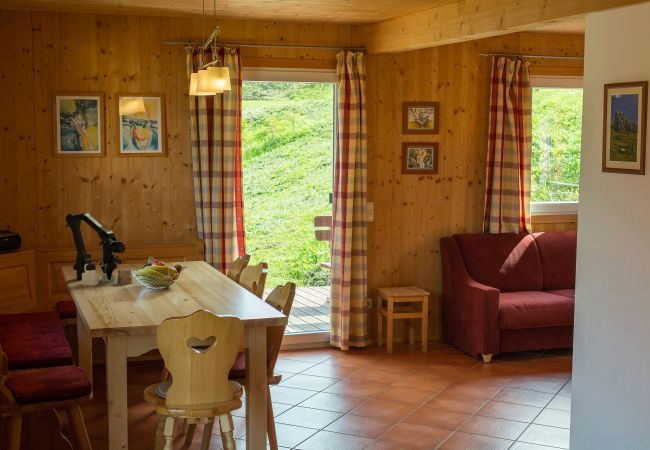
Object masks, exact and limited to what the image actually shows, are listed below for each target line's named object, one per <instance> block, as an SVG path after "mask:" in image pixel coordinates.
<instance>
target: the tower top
mask: <svg viewBox="0 0 650 450" xmlns="http://www.w3.org/2000/svg"><path fill="white" fill-rule="evenodd" d="M117 271H118V272H117V274H118V275H117V276H119V277H132V271H131V269H130V268H117Z"/></svg>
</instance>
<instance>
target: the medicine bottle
mask: <svg viewBox="0 0 650 450" xmlns="http://www.w3.org/2000/svg"><path fill="white" fill-rule="evenodd" d="M96 267H97V266H96V264H95V263H91V264H86V265H85V273H82V280H81V285H82V286H97V285H99V284H100V283H99V279H100V278H99V275H100V273H99V271H97V270H96Z"/></svg>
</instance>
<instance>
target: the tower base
mask: <svg viewBox="0 0 650 450" xmlns="http://www.w3.org/2000/svg"><path fill="white" fill-rule="evenodd" d="M116 277H117V283H118V284H122V285H121V286H124V285H123V284H132V283H133V280H132V279H133V277H132V276H131V277H119V276H118V275H117V276H116Z"/></svg>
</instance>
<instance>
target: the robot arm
mask: <svg viewBox="0 0 650 450" xmlns="http://www.w3.org/2000/svg"><path fill="white" fill-rule="evenodd" d="M82 221H83V222H85V224H87V225H88V226H89V227H91V229H92V230H94V231H95V232H96V234H97V236H98V237H99V239H100V240H101V241H100V242H99V243H98V245H100V246H102V249H101V250H102V253H101V257H102V259H101V260H99V261H98V266H99V267H100V269H101V271H102V274H106V275H107V277H108V280H111V276H112V273H113V272H114V270H116V269H118V265H122V264H123V260H124V259H123V258H120V256H119V255H115V254H124V253H125V252H126V246H125V244H124V241H121V240H120V241H119V239H117V237H116V236H115V233H114V231H112V230H111V229H109V228H106V227H105V226H103V225H102V224H100V223H99V222H98V221H97V220H96V219H95V218H94V217H93V216H92V215H90V213H88V212H82V213H77V212H76V213H74V212H73V213H68V214H67V215H66V217H65V222H66V224H67V226H68V227H69V229H70V230H71V233H72V238H73V241H74V245H75V250H76V257H75V261H76V262H75V263H74V265H72V269H73V271H75V275H76V277H75V278H74V280H76V281H82V273H85V265H86V264H92V260H93V259H92V256H91V253H90V252H89V253H88V252H87V251H86V246H85V244H84V240H83V235H82V231H81V224H82Z"/></svg>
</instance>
